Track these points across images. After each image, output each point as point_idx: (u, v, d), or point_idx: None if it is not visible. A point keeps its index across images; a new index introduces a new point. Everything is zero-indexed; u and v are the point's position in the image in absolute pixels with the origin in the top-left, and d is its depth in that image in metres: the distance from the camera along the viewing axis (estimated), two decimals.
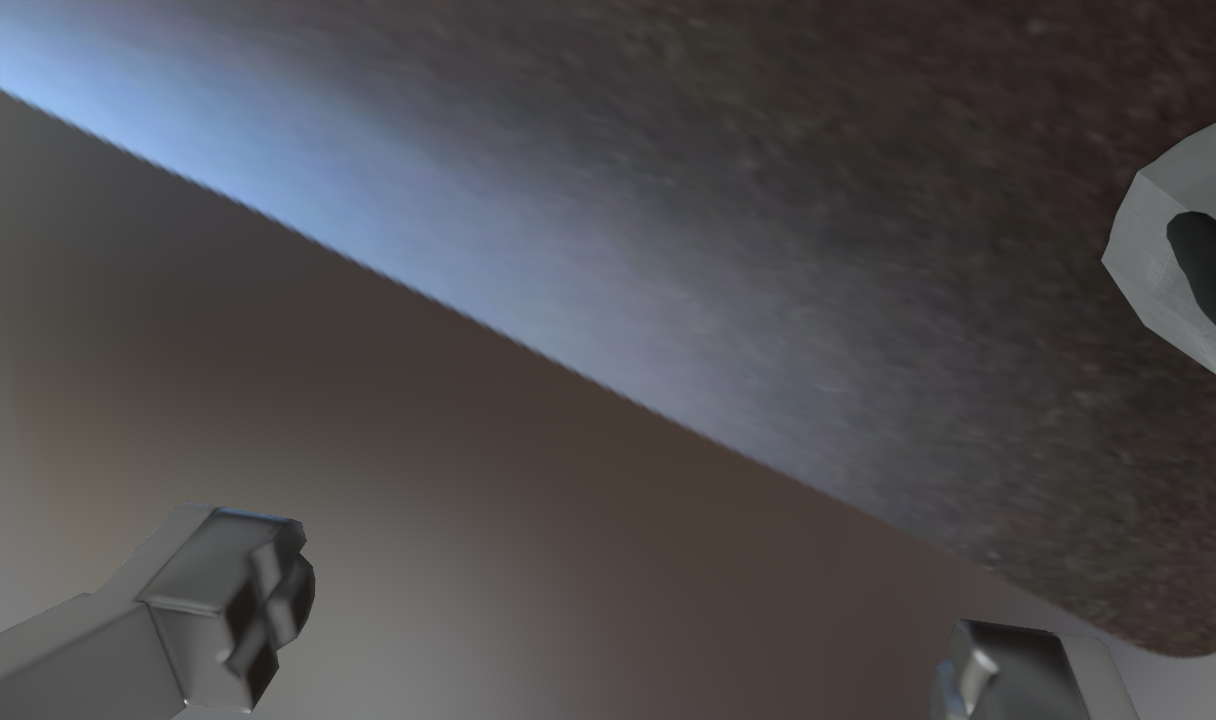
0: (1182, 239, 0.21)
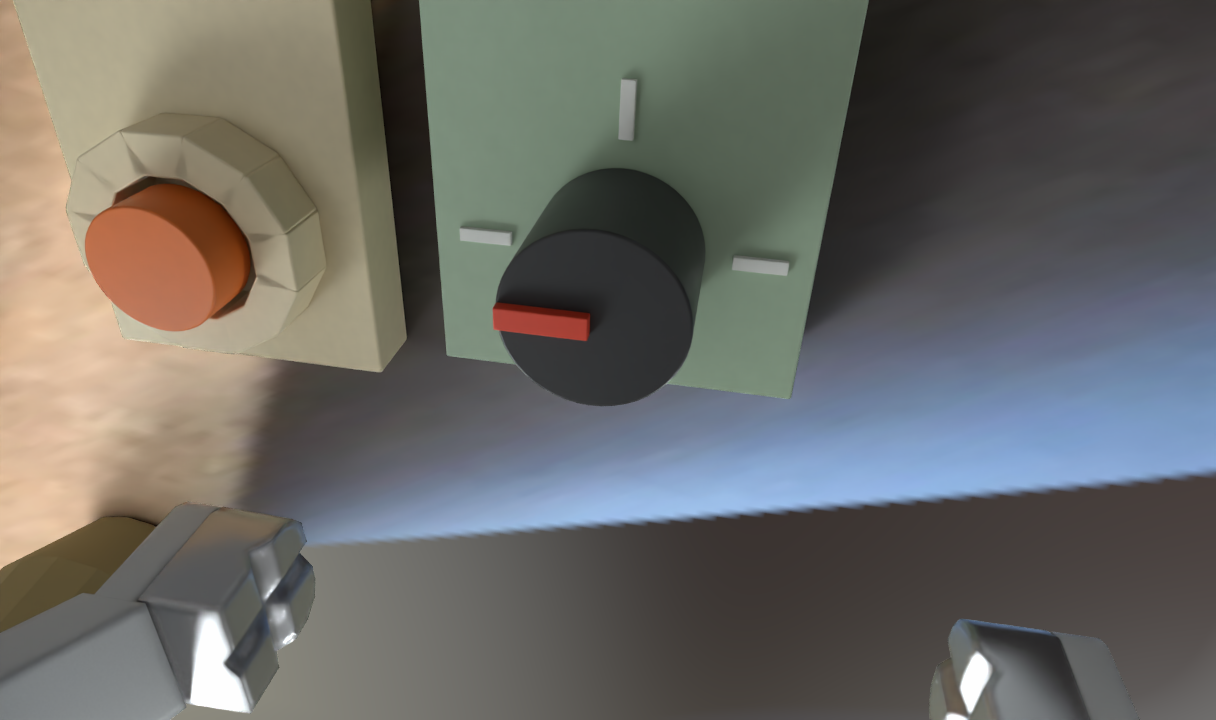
0: None
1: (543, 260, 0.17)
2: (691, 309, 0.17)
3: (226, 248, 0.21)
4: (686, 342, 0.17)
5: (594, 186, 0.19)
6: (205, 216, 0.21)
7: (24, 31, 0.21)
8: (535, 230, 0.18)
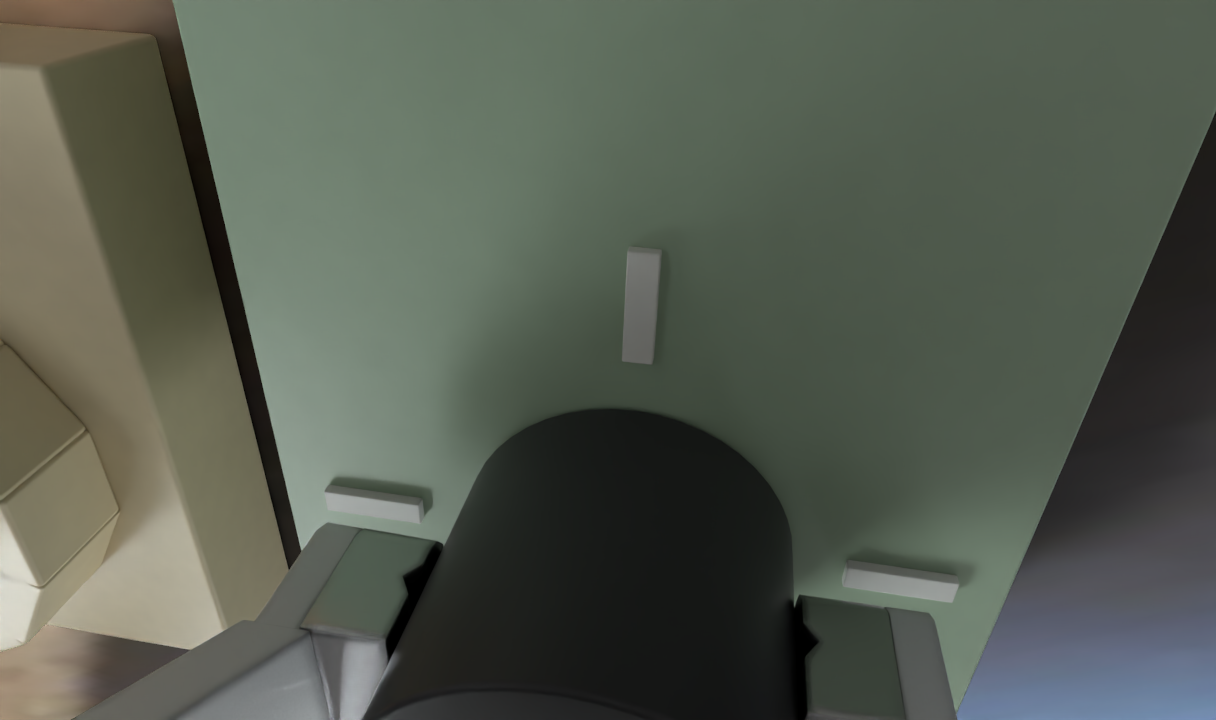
0: None
1: None
2: None
3: None
4: None
5: (571, 476, 0.09)
6: None
7: None
8: (435, 610, 0.08)
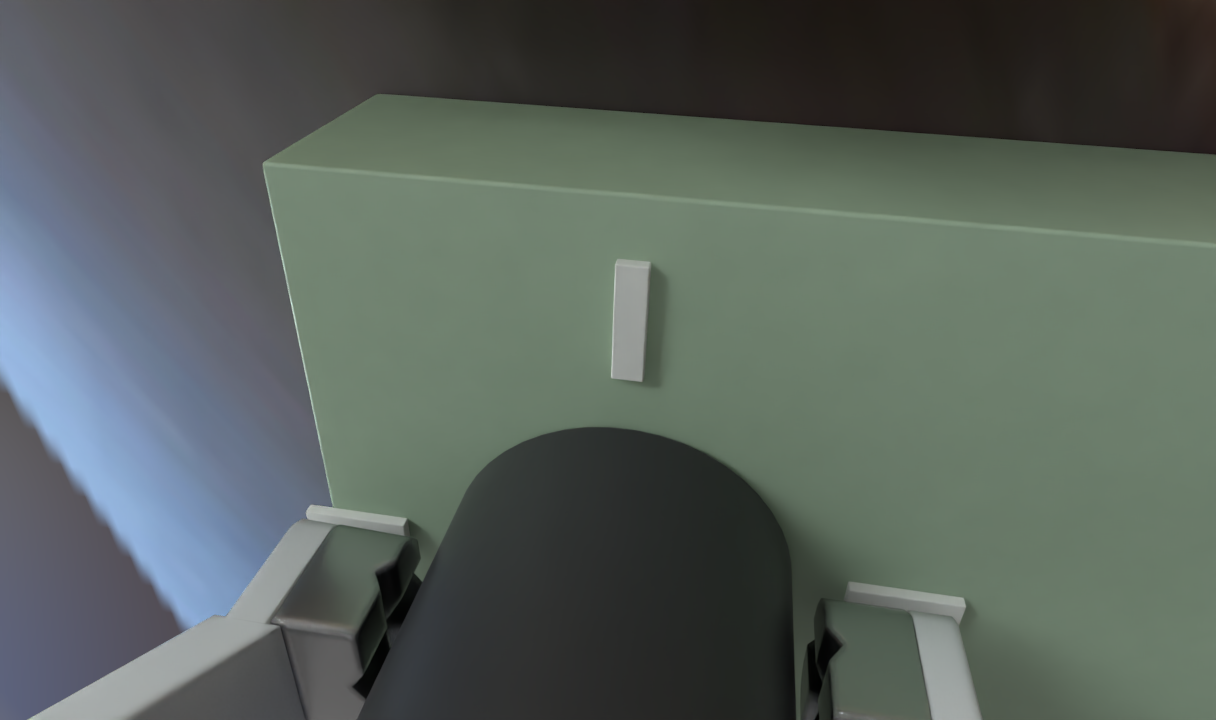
0: None
1: None
2: None
3: None
4: None
5: (569, 501, 0.08)
6: None
7: None
8: (422, 641, 0.07)
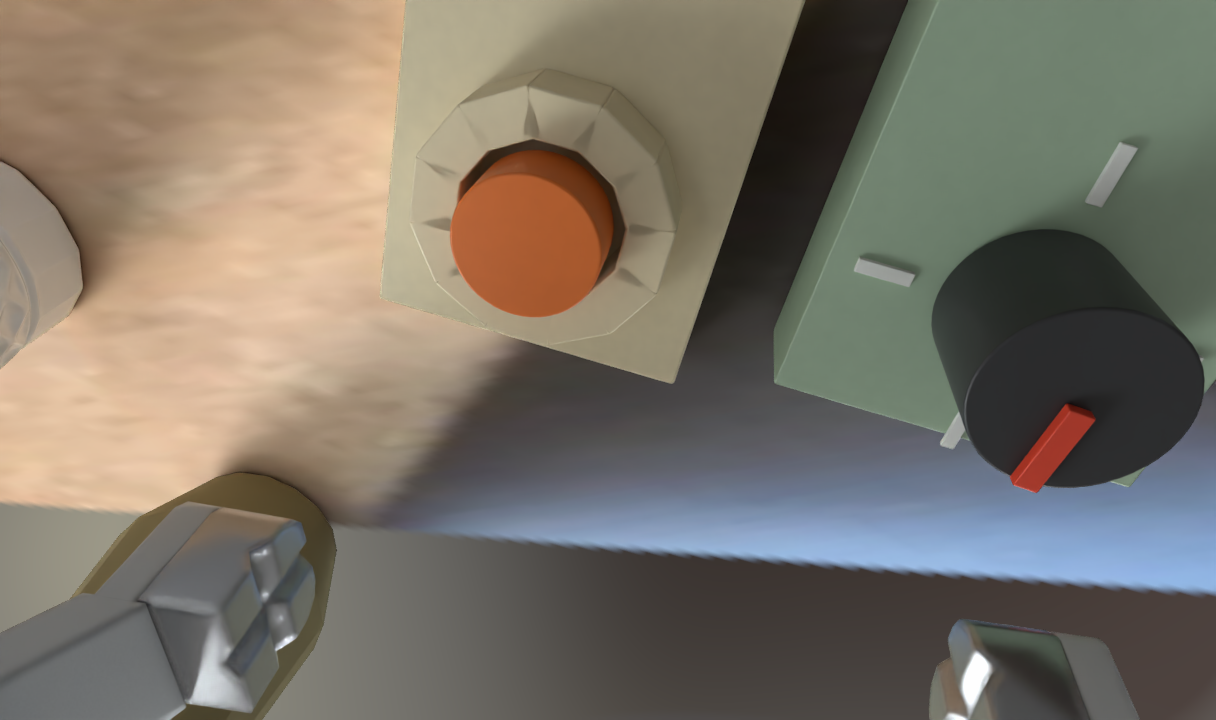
0: None
1: (986, 422, 0.17)
2: (1115, 307, 0.15)
3: (608, 236, 0.19)
4: (1154, 323, 0.15)
5: (944, 327, 0.19)
6: (597, 198, 0.19)
7: None
8: (957, 406, 0.18)
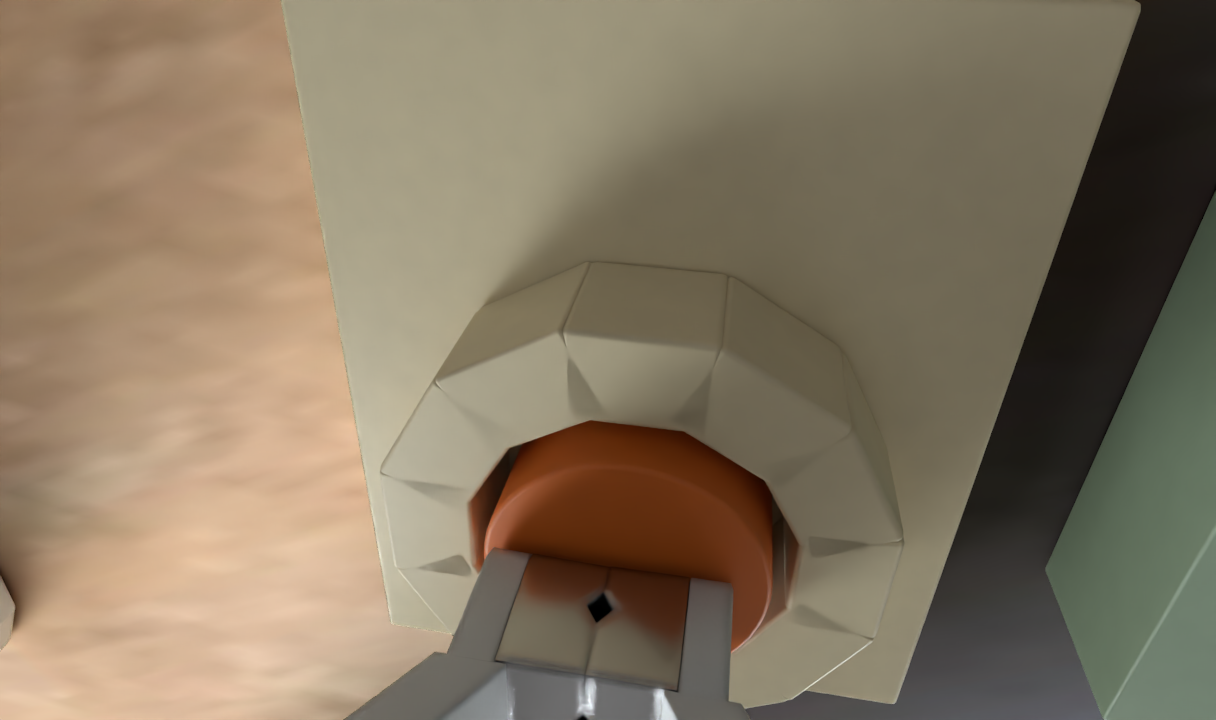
0: None
1: None
2: None
3: (770, 521, 0.10)
4: None
5: None
6: None
7: (301, 91, 0.10)
8: None
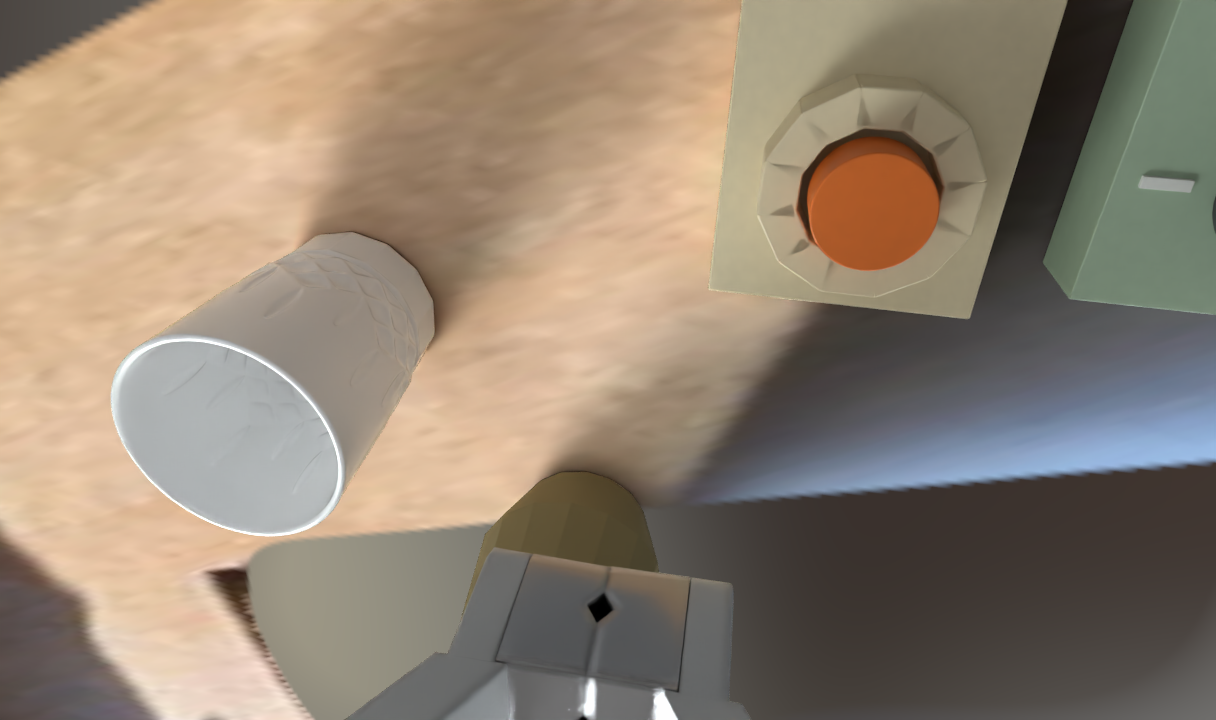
0: None
1: None
2: None
3: None
4: None
5: None
6: (923, 164, 0.23)
7: (745, 0, 0.24)
8: None
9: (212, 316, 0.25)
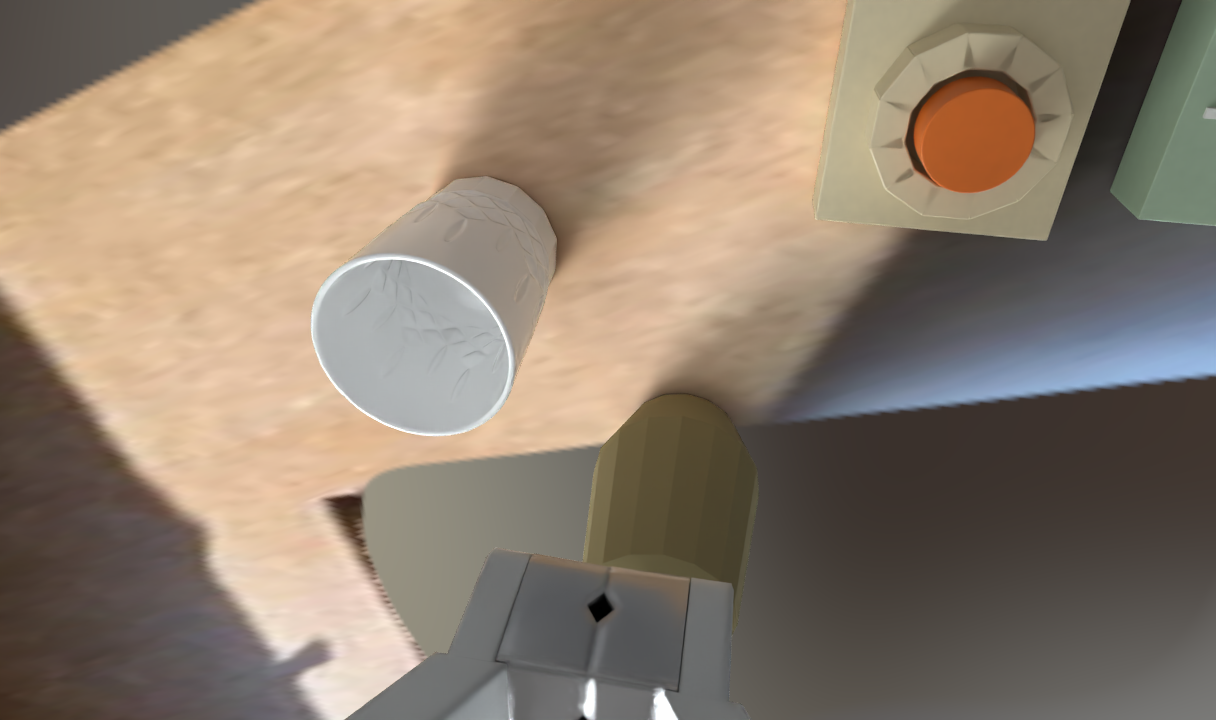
0: None
1: None
2: None
3: None
4: None
5: None
6: None
7: None
8: None
9: (402, 240, 0.29)
